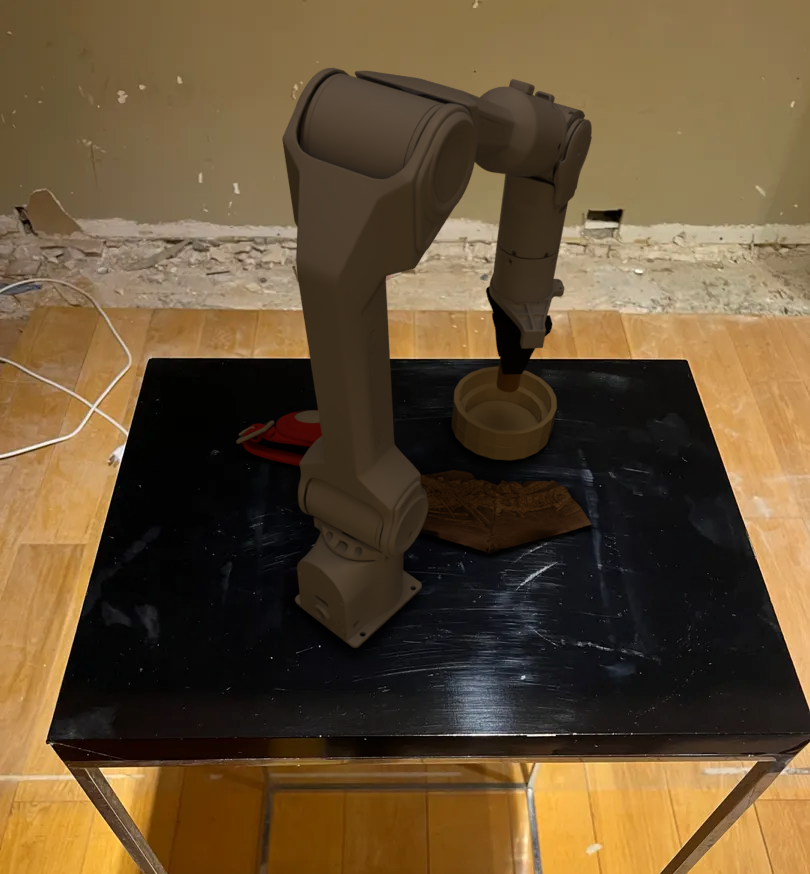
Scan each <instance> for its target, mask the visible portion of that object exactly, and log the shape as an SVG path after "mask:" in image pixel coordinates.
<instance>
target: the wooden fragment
mask: <svg viewBox="0 0 810 874" xmlns="http://www.w3.org/2000/svg"><path fill="white" fill-rule="evenodd" d="M421 486H422V488H423V489H424V490H425V491H426V493H427V499H428V512H427V516H426V519H425V522H424V524H423V527H422V529H421V531H420V533H423V534H426V535H430V536H432V537H436V538H439V539H442V540H445V541H449V542H452V543H456V544H460V545H463V546H466V547H470V548H472V549H476V550H478V551H479V550H480V551H483V552H484V553H487V554H489V555H490V554H491V555H492V554H495V553H497V552H499V551H501V550H504V549H508V548H511V547H515V546H520V545H523V544H527V543H531V542H534V541H538V540H541V539H546V538H549V537H553V536H557V535H560V534H566V533H569V532H572V531H575V530H578V529H581V528H583V527H587V526H590V527H591V528H592V530H594V527H593V524H592V522H591V520H590V519H589V518H588V516H587V515H586V513H585V512H584V510H583V508H582V507H581V505H579V503H577V501H576V500H575V499H574V498H573V497H572V496H571V494H570V493H569V490H568V489H567V488H566V487H565V486H563V485H559V484H558V483H557V482H556V481H555V480H554V479H551V480H550V481H546V480H542V481H541V480H528V481H524V482H523V483H520V482H517V481H506V480H504V479H503V480H501V481H500V483H498V484H496V483H491V482H489V481H488V480H483V479H476V478H475V476H474V475H473V474H472V473H471V472H468V471H464V470H463V471H462V470H455V469H451V470H447V471H440V472H433V473H432V474H429V473H426V474H421Z"/></svg>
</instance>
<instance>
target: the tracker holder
mask: <svg viewBox="0 0 810 874" xmlns="http://www.w3.org/2000/svg"><path fill="white" fill-rule="evenodd" d="M273 425H275V426H273ZM238 436H239V438H238V439H237V440H236V441H235V442H236V444H238V445H239V444H242V446H243V448H244V450H245V451H247V452H248V453H250V454H252V455H253V456H257V457H260V458H263V459H265V460H266V459H267V460H270V461H274V462H278V463H283V464H286V465H287V464H288V465H292V466H296V467H300V465H299V464H300V461H301V460H302V458H303V457H304V455H305V454H300V453H296V452H290V451H285V450H281V449H277V448H271V447H268V446H265V445H262V444H259V442H261V441H262V439H264V440H266V441H268V442H274V443H278V444H284V445H286V444H287V445H293V446H302V447H308V448H310V447H311V446H312V445H313V443H314V442H315V441H316V440H317V439H318V438H320V437H321V436H322V432H321V426H320V419H319V413H318V409H302V410H299V411H293V412H290V413H287V414H285V415H283V416H281V417H280V418H278V419H277V421H276V423H275V421H274V420H269V421H268V422H266V423H253V424H251V425H249V426H248V427H247V428H245V429H243V430H242V431H240V432H239V433H238Z"/></svg>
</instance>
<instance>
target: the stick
mask: <svg viewBox="0 0 810 874" xmlns="http://www.w3.org/2000/svg"><path fill="white" fill-rule="evenodd" d="M498 366H499V369H498V376H497V383H496V385H497V387H498V389H500V390H501V391H504V392H514V391H516V390H517V389H518V388H519V383H520V377H521V374H513V375H504V374H503V373H502V368H501V362H500V361H499V362H498Z"/></svg>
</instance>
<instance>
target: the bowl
mask: <svg viewBox="0 0 810 874" xmlns="http://www.w3.org/2000/svg"><path fill="white" fill-rule="evenodd" d="M498 369H499V365H498V366H497V365H496V366H489V367H488V366H487V367H483V368H480V369H476V370H475V371H471V372H470V373H468V374H467V375H466V376H464V377H463V378H461V379H460V380H459V382H458V383H457V385H456V386H455V388H454V391H453V401H452V411H451V412H452V413H451V425H450V426H451V430H452V432H453V434H454V437H455V438H456V440H458V442H460V444H461V445H462V446H463V447H464V448H466V449H467V450H469V451H470V452H472V453H474V454H476V455H478V456H481V457H484V458H488V459H491V460H498V461H499V460H500V461H517V460H521V459H522V460H523V459H526V458H528V457H530V456H533V455H536V454H537V453H539V452H540V451H541V450H543V449H544V447H545V446H547V444H548V442H549V440H550V438H551V435H552V433H553V428H554V423H555V419H556V415H557V409H558V403H557V396H556V394H555V391H554V390H553V389H552V387H551V386H550V385H549V384H548V383H547V382H546V381H545V380H544V379H543V378H542V377H540V376H537V375H535V374H534V373H532V372H530V371H528V370H524V371H523V373H522V374H521V377H520V383H519V388H518V389H517V390H516V391H514V392H504V391H501V390H500V389H498V387H497V385H496V383H497V376H498Z"/></svg>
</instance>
